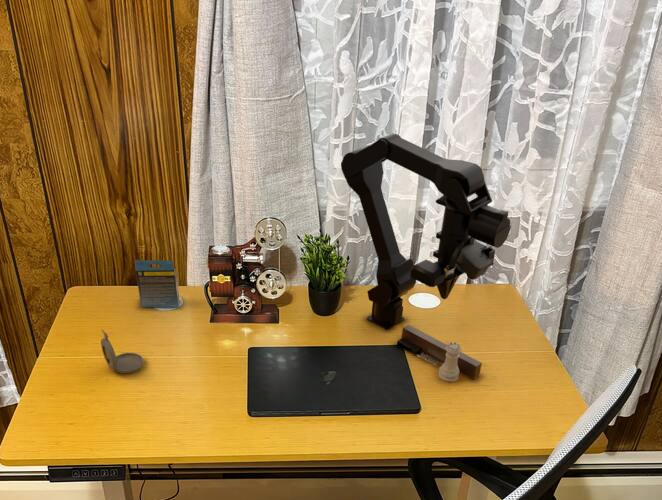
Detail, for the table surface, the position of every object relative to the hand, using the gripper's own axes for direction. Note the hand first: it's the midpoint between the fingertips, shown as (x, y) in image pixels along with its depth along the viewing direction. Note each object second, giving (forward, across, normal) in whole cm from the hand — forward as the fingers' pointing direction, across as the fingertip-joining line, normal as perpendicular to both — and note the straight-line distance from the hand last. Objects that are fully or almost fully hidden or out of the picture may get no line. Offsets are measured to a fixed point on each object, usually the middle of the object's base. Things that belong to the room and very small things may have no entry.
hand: (444, 298), depth 161 cm
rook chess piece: (+12, -7, -10) cm, 17 cm away
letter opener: (+12, -6, 0) cm, 13 cm away
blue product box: (+13, -36, +54) cm, 66 cm away
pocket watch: (+12, -57, +39) cm, 70 cm away
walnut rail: (+12, -4, -4) cm, 13 cm away
